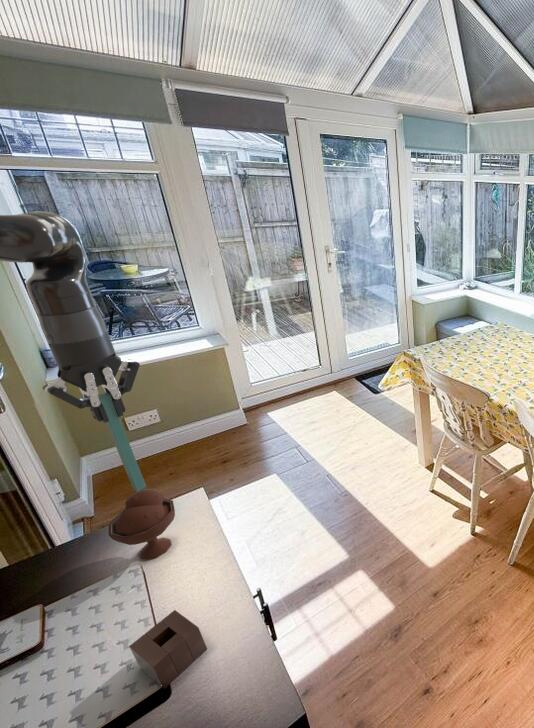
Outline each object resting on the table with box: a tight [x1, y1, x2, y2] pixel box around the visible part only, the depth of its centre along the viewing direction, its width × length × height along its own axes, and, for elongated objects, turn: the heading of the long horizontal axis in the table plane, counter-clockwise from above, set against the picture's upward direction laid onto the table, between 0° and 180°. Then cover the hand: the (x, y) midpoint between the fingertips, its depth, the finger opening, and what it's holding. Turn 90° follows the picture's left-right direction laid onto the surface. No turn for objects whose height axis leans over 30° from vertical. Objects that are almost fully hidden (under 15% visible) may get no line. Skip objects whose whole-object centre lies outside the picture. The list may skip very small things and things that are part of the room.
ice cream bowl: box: [107, 488, 176, 561], centre depth 87 cm, size 11×11×15 cm
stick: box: [98, 392, 147, 492], centre depth 80 cm, size 2×2×22 cm
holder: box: [128, 609, 208, 690], centre depth 70 cm, size 7×7×6 cm
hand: (111, 418), depth 78 cm, fingers closed on stick, 1 cm apart
